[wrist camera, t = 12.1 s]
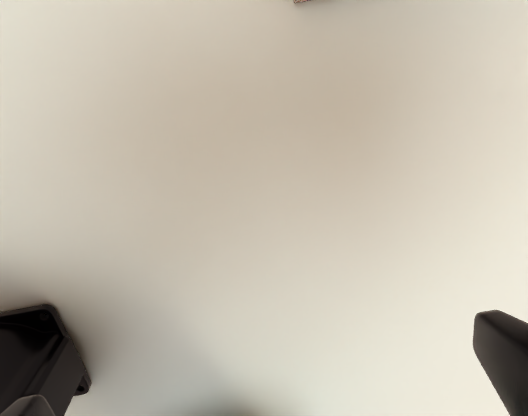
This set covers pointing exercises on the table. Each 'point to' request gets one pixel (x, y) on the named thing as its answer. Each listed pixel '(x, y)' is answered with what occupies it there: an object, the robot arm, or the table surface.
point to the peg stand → (297, 0)
